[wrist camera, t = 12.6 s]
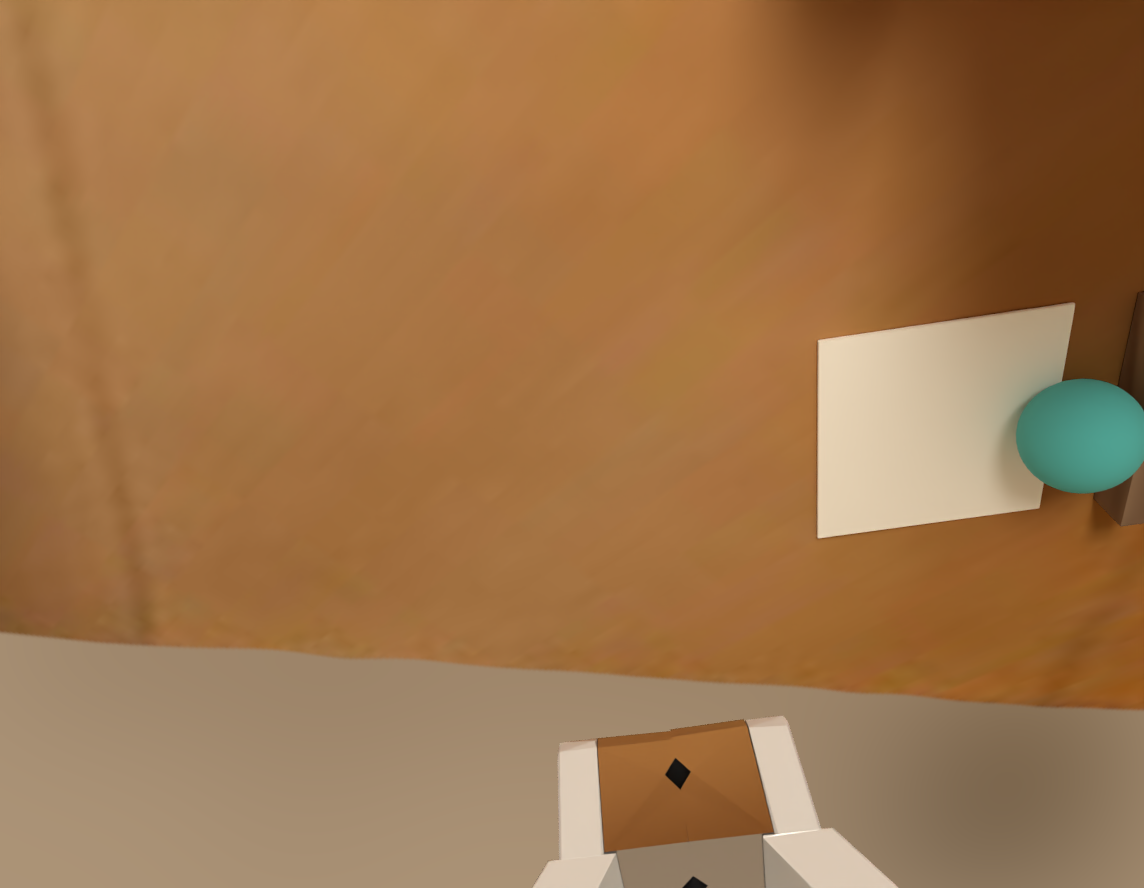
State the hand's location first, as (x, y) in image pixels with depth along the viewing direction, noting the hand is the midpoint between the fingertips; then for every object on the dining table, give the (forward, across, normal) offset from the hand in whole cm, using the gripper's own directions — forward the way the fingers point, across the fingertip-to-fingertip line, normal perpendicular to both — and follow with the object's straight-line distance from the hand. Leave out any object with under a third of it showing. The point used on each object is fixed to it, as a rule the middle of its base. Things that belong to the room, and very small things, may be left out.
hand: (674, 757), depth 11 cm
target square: (+29, -16, +15) cm, 36 cm away
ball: (+26, -22, +15) cm, 37 cm away
